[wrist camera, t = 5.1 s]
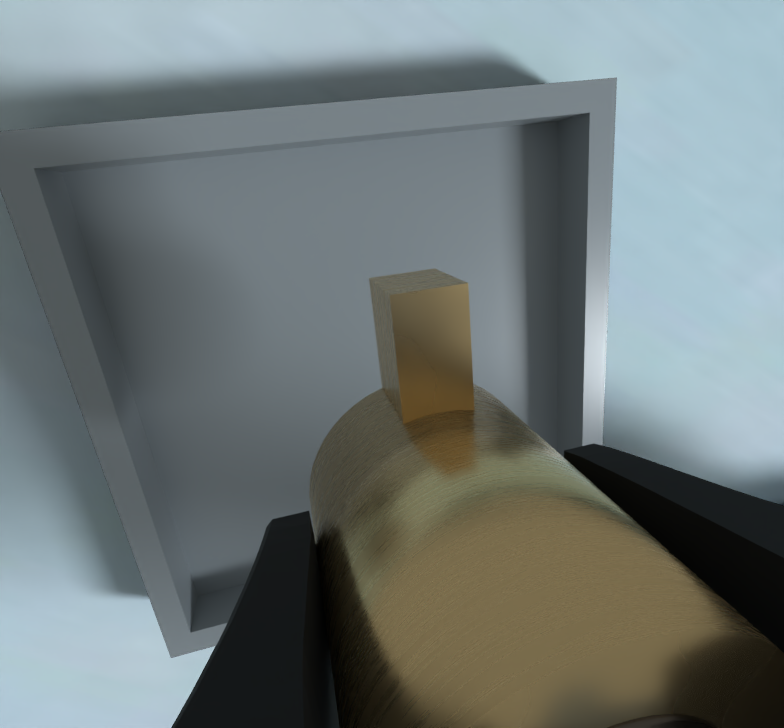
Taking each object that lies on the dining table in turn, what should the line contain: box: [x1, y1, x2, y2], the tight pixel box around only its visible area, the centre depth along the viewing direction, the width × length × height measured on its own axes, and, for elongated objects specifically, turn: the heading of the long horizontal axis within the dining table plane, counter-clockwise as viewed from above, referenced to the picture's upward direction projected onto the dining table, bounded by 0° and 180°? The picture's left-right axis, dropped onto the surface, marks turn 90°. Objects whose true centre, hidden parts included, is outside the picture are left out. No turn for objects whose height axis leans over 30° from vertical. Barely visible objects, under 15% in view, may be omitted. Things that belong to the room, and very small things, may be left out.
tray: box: [0, 78, 617, 658], centre depth 16 cm, size 16×16×2 cm
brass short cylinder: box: [309, 268, 784, 728], centre depth 7 cm, size 7×5×6 cm
